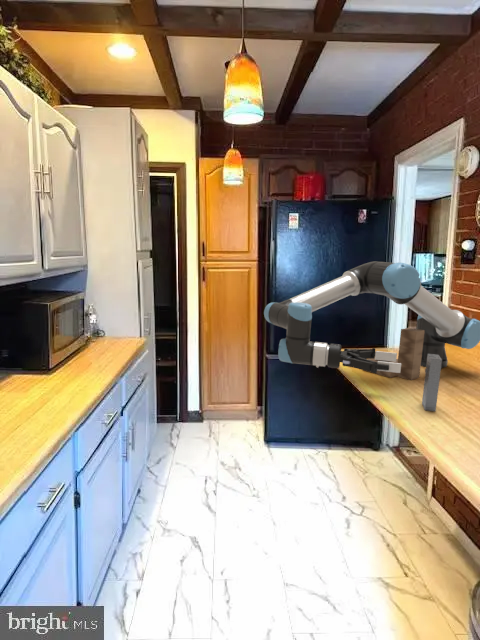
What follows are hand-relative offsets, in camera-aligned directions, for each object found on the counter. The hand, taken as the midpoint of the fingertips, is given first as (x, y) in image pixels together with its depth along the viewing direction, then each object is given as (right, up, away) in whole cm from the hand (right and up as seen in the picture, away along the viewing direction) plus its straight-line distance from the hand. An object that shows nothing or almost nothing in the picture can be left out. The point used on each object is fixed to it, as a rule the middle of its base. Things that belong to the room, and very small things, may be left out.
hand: (398, 362), depth 134 cm
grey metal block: (+9, -14, 0) cm, 16 cm away
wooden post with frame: (+11, -7, +36) cm, 38 cm away
